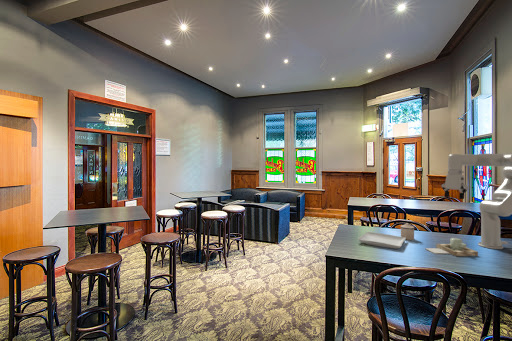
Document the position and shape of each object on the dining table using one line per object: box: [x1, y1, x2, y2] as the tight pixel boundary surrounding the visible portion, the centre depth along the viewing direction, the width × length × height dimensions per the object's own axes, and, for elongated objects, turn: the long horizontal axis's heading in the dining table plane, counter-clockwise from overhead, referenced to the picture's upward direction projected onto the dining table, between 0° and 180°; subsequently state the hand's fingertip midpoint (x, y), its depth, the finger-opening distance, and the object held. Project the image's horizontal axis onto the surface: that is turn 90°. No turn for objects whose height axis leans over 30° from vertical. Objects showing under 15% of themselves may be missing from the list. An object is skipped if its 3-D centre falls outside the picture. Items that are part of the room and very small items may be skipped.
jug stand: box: [436, 243, 479, 257], centre depth 162 cm, size 14×16×2 cm
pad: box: [425, 247, 450, 255], centre depth 162 cm, size 9×9×1 cm
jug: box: [449, 237, 467, 250], centre depth 160 cm, size 10×6×8 cm, turn 178°
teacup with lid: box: [400, 222, 415, 241], centre depth 193 cm, size 12×9×12 cm
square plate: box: [357, 231, 406, 249], centre depth 182 cm, size 27×27×4 cm
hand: (454, 198), depth 170 cm, fingers open, 9 cm apart
